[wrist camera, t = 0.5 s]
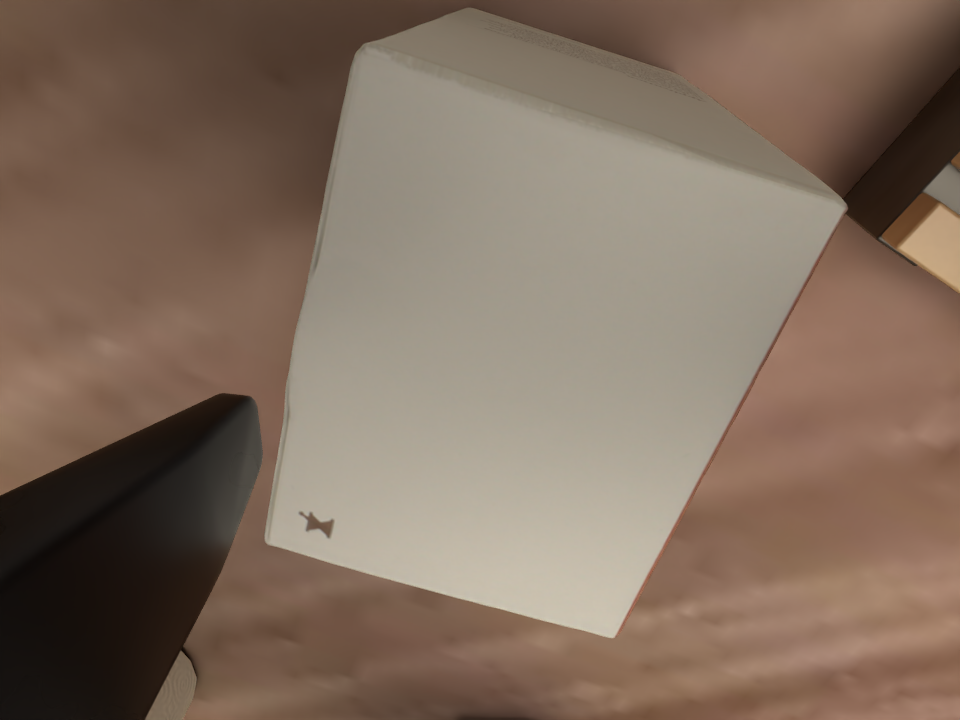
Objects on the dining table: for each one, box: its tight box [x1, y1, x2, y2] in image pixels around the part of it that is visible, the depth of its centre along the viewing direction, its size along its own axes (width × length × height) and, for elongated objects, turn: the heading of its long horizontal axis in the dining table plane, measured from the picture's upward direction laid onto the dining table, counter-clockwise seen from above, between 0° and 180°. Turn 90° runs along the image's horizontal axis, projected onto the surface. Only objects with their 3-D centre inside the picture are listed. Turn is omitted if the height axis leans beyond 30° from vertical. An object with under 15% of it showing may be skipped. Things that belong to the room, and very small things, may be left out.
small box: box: [265, 8, 848, 638], centre depth 16 cm, size 8×6×13 cm
